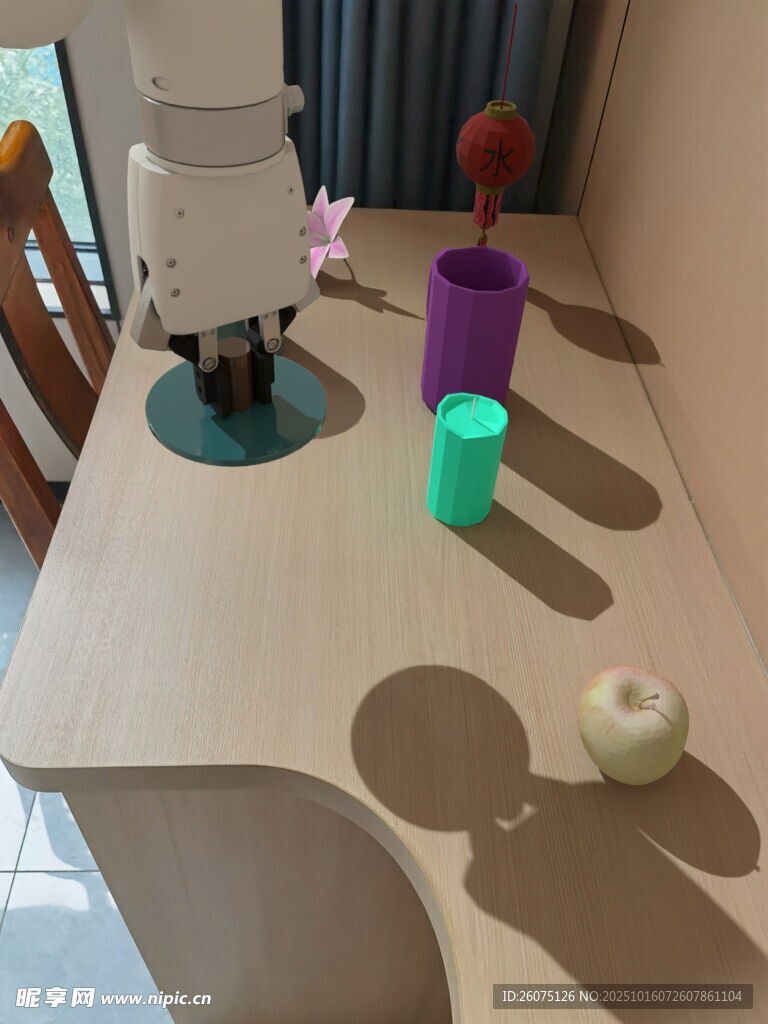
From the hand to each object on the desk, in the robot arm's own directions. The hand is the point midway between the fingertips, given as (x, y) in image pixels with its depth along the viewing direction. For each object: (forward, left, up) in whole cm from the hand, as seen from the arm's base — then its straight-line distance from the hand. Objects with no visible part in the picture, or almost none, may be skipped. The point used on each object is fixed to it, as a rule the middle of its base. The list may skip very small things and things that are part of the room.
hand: (236, 398), depth 55 cm
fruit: (+26, -18, -17) cm, 37 cm away
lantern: (+27, +51, -17) cm, 60 cm away
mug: (+20, +26, -17) cm, 37 cm away
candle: (+18, +7, -17) cm, 26 cm away
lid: (0, 0, -1) cm, 1 cm away
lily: (+6, +50, -17) cm, 53 cm away
